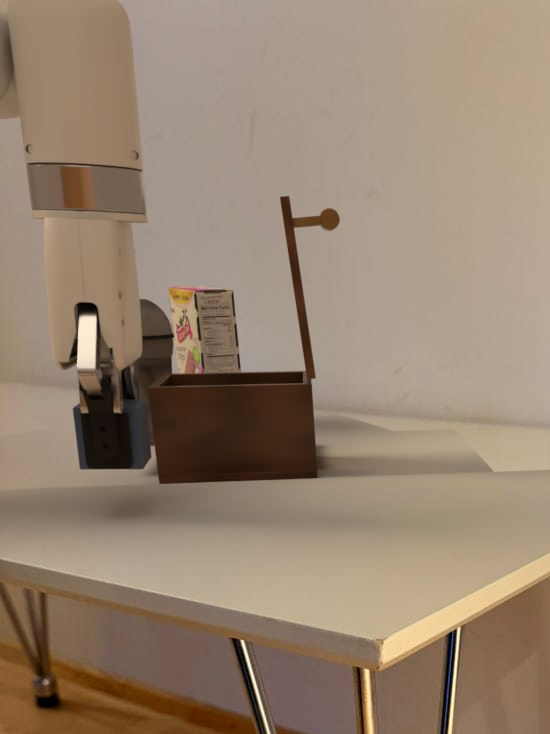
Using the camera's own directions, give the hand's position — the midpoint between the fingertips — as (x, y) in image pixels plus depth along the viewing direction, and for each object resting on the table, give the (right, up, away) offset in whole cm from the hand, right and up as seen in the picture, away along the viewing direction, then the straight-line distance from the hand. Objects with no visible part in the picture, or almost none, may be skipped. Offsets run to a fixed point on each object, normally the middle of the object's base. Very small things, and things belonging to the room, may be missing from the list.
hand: (116, 458), depth 75 cm
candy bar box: (-6, +13, +48) cm, 50 cm away
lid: (+10, +19, +18) cm, 28 cm away
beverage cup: (-10, +9, +38) cm, 40 cm away
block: (0, 0, 0) cm, 0 cm away
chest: (+4, +3, +23) cm, 24 cm away
